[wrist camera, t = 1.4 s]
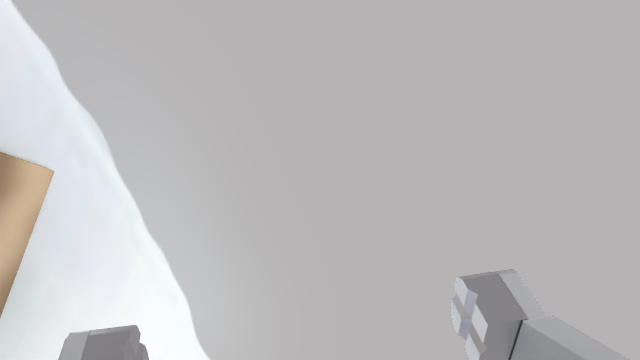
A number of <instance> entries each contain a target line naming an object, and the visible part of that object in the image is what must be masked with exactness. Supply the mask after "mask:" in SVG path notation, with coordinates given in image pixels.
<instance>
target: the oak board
mask: <svg viewBox="0 0 640 360" xmlns="http://www.w3.org/2000/svg"><path fill="white" fill-rule="evenodd" d="M53 174H54V171H53V170H50V169H47V168H44V167H41V166H39V165H36V164H33V163H30V162H27V161H24V160H22V159H19V158H16V157H13V156H10V155H7V154H5V153H2V152H0V317H1V314H2V311H3V309H4V306H5V303H6V301H7V298H8V295H9V292H10V290H11V287H12V284H13V282H14V279H15V276H16V274H17V271H18V268H19V265H20V263H21V260H22V257H23V255H24V252H25V249H26V247H27V244H28V241H29V238H30V236H31V233H32V230H33V228H34V225H35V222H36V220H37V217H38V214H39V211H40V209H41V206H42V203H43V201H44V198H45V195H46V193H47V190H48V187H49V184H50V182H51V179H52V176H53Z"/></svg>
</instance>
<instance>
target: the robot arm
mask: <svg viewBox="0 0 640 360" xmlns="http://www.w3.org/2000/svg"><path fill="white" fill-rule="evenodd" d="M454 289H455V290H456V292H457V294H456V295H455V296H454V298H453V299H452V301H451V316H452V320H453V324H454V326H455V329H456V331H457V333H458V335H460V336H461V337H462V338H464V339H465V340H467V343H466V348H465V350H466V352H467V354H468V356H469V358H470V360H629V359H627V358H626V357H624V356H622V355H621V354H619V353H617V352H615V351H614V350H612V349H610V348H609V347H607V346H605V345H603V344H602V343H600V342H598V341H596V340H595V339H593V338H591V337H590V336H588V335H586V334H584V333H583V332H581V331H579V330H577V329H576V328H574V327H572V326H571V325H569V324H567V323H565V322H564V321H562V320H560V319H558V318H557V317H555V316H548V315H547V314H546V312H545V311H544V310H543V308H542V307H541V305H540V304H539V303H538V301H537V300H536V298H535V297H534V296H533V294H532V293H531V291H530V290H529V288H528V287H527V286H526V284H525V283H524V281H523V280H522V279H521V277H520V276H519V275H518V273H517V272H516V271H515V270H513V269H509V270H503V271H496V272H487V273H482V274H476V275H469V276H462V277H458V278H457V279H456V281H455V285H454ZM139 340H140V332H139V329H138V327H137V325H131V326H123V327H115V328H107V329H98V330H91V331H84V332H76V333H70V334H69V335H68V337H67V338H66V339H65V342H64V345H63V348H62V351H61V354H60V357H59V360H149V358H148V353H147V350H146V347H145V345H143V344H141V343H139Z"/></svg>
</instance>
